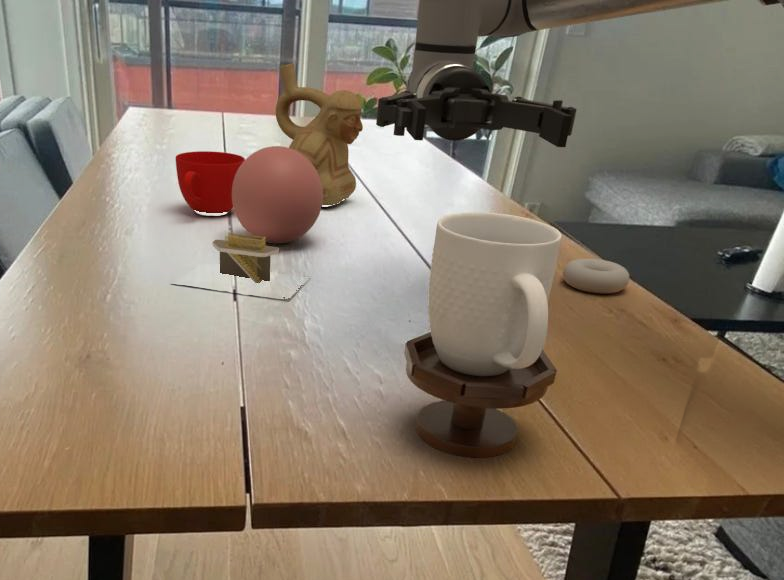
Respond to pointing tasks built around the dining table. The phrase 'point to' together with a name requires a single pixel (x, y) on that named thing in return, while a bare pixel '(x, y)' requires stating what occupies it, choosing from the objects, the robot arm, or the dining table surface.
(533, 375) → the cake stand
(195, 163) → the ceramic cup
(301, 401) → the dining table surface
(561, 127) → the robot arm
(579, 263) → the donut
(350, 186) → the ceramic vessel
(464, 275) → the mug
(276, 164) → the pink ball
